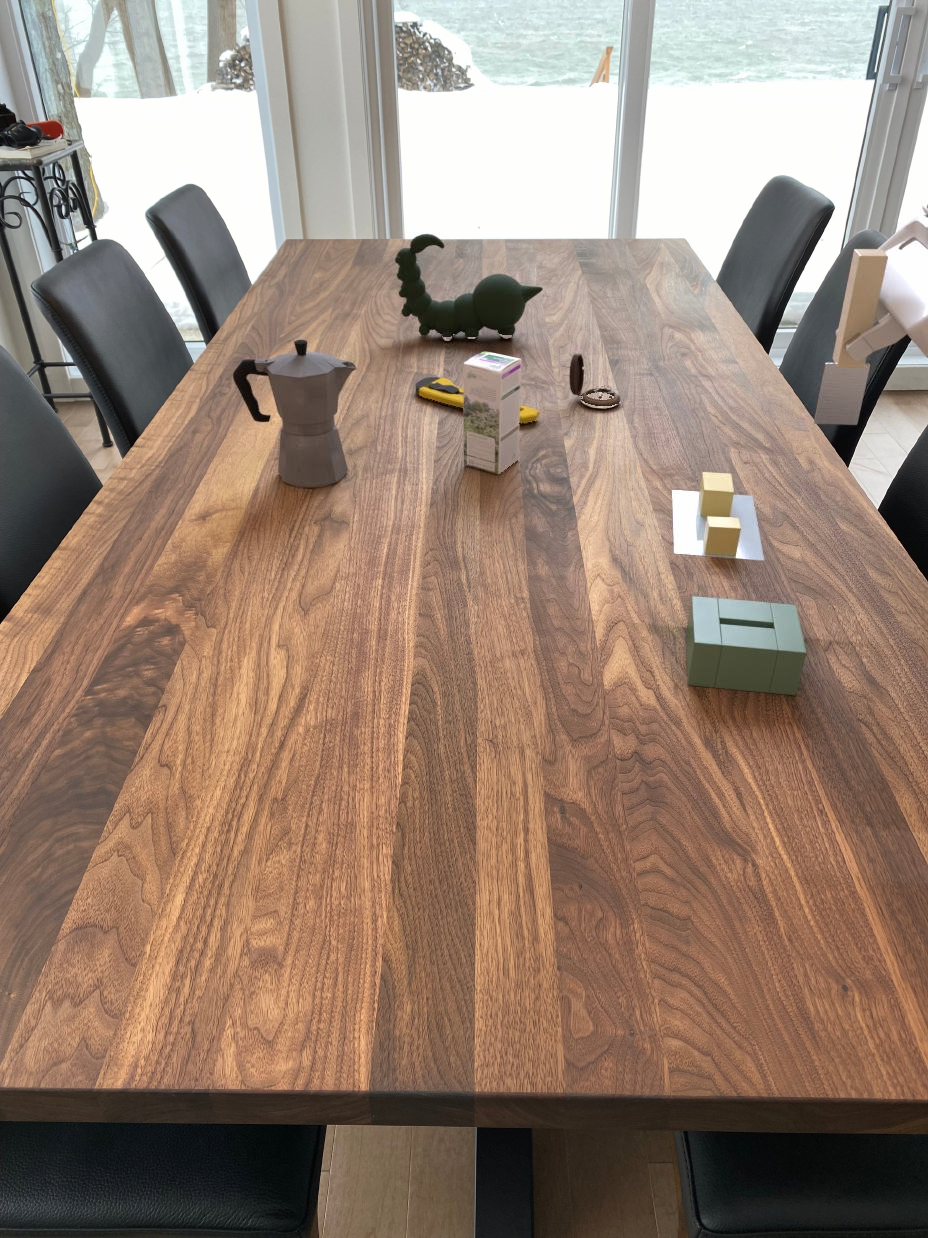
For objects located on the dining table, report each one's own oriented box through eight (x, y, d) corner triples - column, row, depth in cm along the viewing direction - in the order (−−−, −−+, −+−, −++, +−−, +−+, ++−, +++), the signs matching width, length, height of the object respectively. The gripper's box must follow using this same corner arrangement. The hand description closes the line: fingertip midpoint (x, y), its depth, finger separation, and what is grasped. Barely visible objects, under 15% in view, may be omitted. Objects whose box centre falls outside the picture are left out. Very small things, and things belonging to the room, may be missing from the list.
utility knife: (431, 382, 157) (431, 370, 156) (551, 414, 146) (552, 402, 145) (405, 395, 152) (404, 383, 151) (526, 429, 142) (527, 416, 140)
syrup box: (520, 460, 133) (524, 356, 125) (498, 476, 129) (500, 370, 121) (484, 450, 136) (485, 348, 127) (461, 466, 132) (461, 361, 123)
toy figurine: (403, 354, 173) (545, 344, 170) (389, 243, 162) (540, 230, 160) (409, 337, 181) (544, 327, 178) (395, 229, 170) (539, 217, 168)
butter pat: (733, 544, 112) (738, 517, 110) (736, 555, 110) (741, 528, 108) (702, 542, 113) (707, 515, 111) (704, 553, 111) (709, 526, 109)
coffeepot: (364, 457, 134) (356, 327, 124) (361, 488, 126) (352, 352, 116) (252, 459, 133) (234, 328, 123) (241, 490, 126) (221, 353, 115)
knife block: (685, 636, 99) (691, 595, 96) (786, 646, 98) (796, 604, 95) (687, 685, 92) (694, 642, 90) (796, 696, 91) (806, 652, 88)
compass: (616, 412, 147) (620, 365, 143) (565, 406, 149) (568, 359, 145) (626, 393, 153) (631, 348, 149) (577, 387, 155) (580, 342, 151)
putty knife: (854, 419, 95) (891, 248, 86) (859, 429, 93) (898, 255, 84) (811, 418, 96) (844, 248, 87) (816, 428, 94) (850, 255, 85)
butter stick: (727, 499, 122) (731, 473, 120) (729, 518, 118) (734, 491, 116) (698, 496, 122) (702, 471, 120) (700, 515, 118) (704, 489, 116)
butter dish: (751, 502, 123) (752, 495, 122) (763, 568, 110) (764, 560, 109) (671, 496, 124) (672, 489, 124) (673, 560, 111) (674, 553, 111)
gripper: (1051, 299, 76) (892, 414, 83) (968, 238, 93) (841, 337, 100) (1008, 239, 74) (848, 361, 81) (932, 188, 91) (805, 292, 98)
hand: (844, 347), depth 90 cm, fingers closed on putty knife, 2 cm apart
